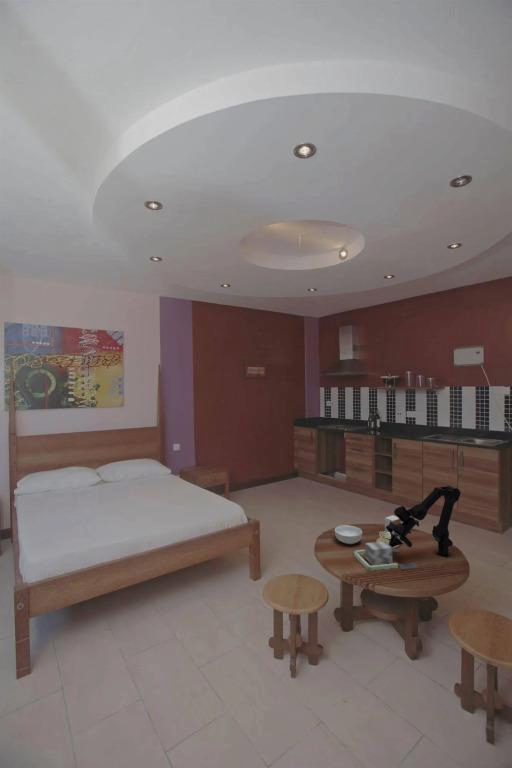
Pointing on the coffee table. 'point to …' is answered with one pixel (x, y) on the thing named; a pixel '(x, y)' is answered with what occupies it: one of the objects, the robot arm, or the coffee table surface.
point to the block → (378, 553)
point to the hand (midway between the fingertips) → (388, 547)
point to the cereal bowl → (348, 534)
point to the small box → (392, 519)
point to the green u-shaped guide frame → (383, 566)
